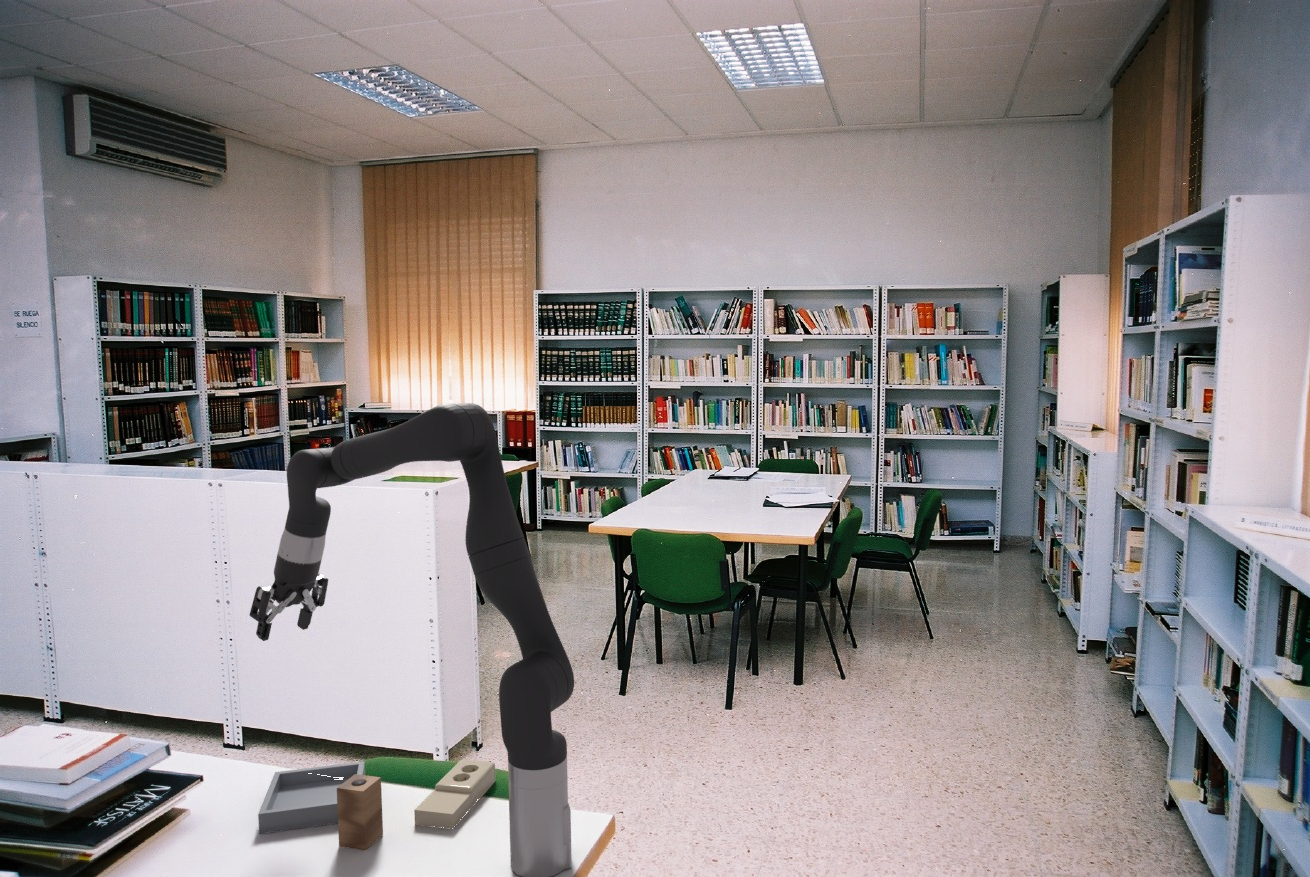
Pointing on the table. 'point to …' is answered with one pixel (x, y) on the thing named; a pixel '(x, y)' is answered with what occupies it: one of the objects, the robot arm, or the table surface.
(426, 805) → the electrical outlet
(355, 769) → the tray
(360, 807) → the block
